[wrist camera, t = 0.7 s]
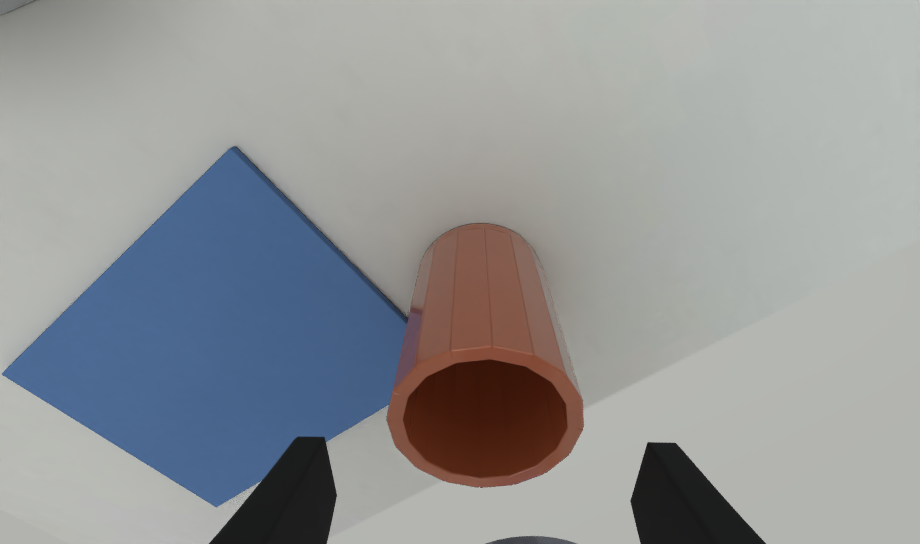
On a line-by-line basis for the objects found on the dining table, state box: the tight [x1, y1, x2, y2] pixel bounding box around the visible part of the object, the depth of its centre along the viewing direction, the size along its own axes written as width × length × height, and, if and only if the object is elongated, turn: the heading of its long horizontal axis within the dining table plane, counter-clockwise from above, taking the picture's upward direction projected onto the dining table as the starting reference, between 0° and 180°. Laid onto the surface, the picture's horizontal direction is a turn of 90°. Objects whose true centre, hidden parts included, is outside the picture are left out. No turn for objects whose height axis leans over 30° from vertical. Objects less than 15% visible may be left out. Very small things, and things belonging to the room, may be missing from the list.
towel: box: [2, 146, 408, 507], centre depth 21 cm, size 18×13×1 cm
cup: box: [387, 223, 584, 488], centre depth 16 cm, size 5×5×8 cm
